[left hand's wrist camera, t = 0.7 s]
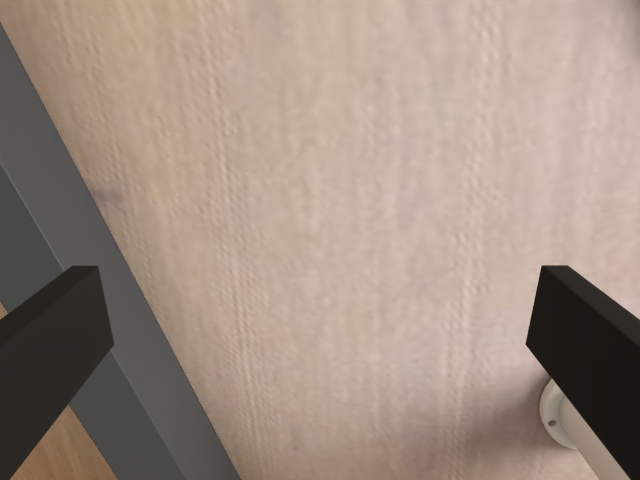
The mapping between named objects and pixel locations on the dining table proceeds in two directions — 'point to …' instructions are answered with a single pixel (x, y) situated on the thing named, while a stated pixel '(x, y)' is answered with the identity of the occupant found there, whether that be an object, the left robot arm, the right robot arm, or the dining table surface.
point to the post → (120, 295)
